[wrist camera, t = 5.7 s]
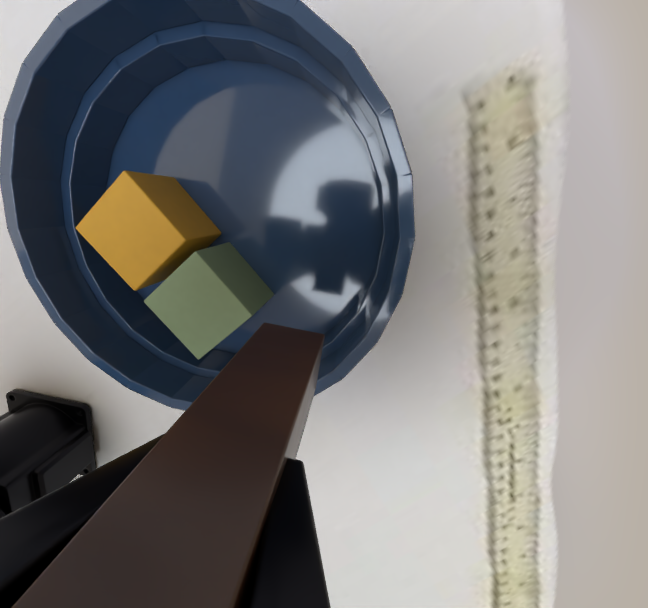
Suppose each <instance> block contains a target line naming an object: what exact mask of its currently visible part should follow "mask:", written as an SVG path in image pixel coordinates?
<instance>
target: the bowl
mask: <svg viewBox="0 0 648 608" xmlns="http://www.w3.org/2000/svg"><path fill="white" fill-rule="evenodd" d="M4 117H5V118H4V119H3V131H2V144H1V157H0V184H1V191H2V197H3V204H4V210H5V217H6V223H7V229H8V232H9V235H10V237H11V240H12V243H13V245H14V248H15V250H16V253H17V256H18V258H19V261H20V264H21V266H22V269H23V272H24V274H25V277H26V279H27V280H28V282H29V284H30V286H31V287H32V289H33V290H34V292H35V294H36V295H37V297H38V298H39V300H40V302H41V303H42V305H43V306H44V308H45V310H46V311H47V313H48V314H49V316H50V318H51V319H52V321H53V322H54V323H55V325H56V326H57V327H58V328H59V329H60V330H61V331H62V333H63V334H64V335H65V336H66V337H67V338H68V339H69V340H70V341H71V342H72V343H73V344H74V345H75V346H76V347H77V349H78V350H79V351H80V352H81V353H82V354H83V355H84V356H85V357H86V358H87V359H88V360H89V361H90V362H92V363H93V364H94V365H96V366H97V367H99V368H100V369H101V370H103V371H104V372H105V373H107V374H108V375H110V376H111V377H112V378H114V379H115V380H117V381H118V382H119V383H121V384H122V385H124V386H125V387H126V388H128V389H130V390H132V391H135V392H137V393H139V394H141V395H144V396H146V397H148V398H150V399H152V400H155V401H157V402H159V403H161V404H164V405H166V406H168V407H171V408H175V409H180V410H185V411H186V410H187V409H188V408H189V406H190V405H191V404H192V403H193V402H194V401H195V400H196V399H197V397H198V396H199V395H200V394H201V393H202V392H203V391H204V390H205V388H206V387H207V386H208V385H209V384H210V383H211V382H212V381H213V379H214V378H215V377H216V376H217V375H218V374H219V373H220V371H221V370H222V369H223V368H224V367H225V366H226V365H227V364H228V362H229V361H230V360H231V359H232V358H233V357H234V356H235V355H236V353H237V352H238V351H239V350H240V349H241V348H242V347H243V346H244V344H245V343H246V342H247V341H248V340H249V339H250V338H251V337H252V335H253V334H254V333H255V332H256V331H257V330H258V329H259V327H260V326H261V325H262V324H263V323H270V324H275V325H280V326H286V327H291V328H296V329H301V330H306V331H311V332H316V333H321V334H324V335H325V337H324V343H323V349H322V355H321V361H320V366H319V372H318V378H317V384H316V389H315V393H314V396H315V395H317V394H318V393H320V392H322V391H323V390H325V389H327V388H328V387H330V386H332V385H333V384H335V383H337V382H338V381H340V380H342V378H344V377H345V376H346V375H347V374H348V373H349V372H350V371H351V370H352V369H353V368H354V367H355V366H356V365H357V363H358V362H359V361H360V360H361V359H362V358H363V357H364V356H365V355H366V354H367V353H368V352H369V351H370V350H371V349H372V348H373V347H374V346H375V345H376V343H377V342H378V340H379V339H380V337H381V335H382V333H383V331H384V329H385V327H386V325H387V323H388V322H389V320H390V318H391V316H392V314H393V312H394V310H395V308H396V307H397V305H398V303H399V301H400V299H401V297H402V295H403V290H404V286H405V281H406V277H407V272H408V268H409V263H410V259H411V255H412V250H413V246H414V241H415V222H414V199H413V175H412V174H411V173H412V171H411V168H410V165H409V161H408V158H407V155H406V152H405V149H404V145H403V142H402V139H401V136H400V133H399V129H398V126H397V123H396V120H395V117H394V113H393V110H392V109H391V106H390V104H389V103H388V101H387V99H386V98H385V96H384V95H383V93H382V92H381V90H380V89H379V87H378V85H377V84H376V82H375V81H374V79H373V78H372V76H371V74H370V73H369V71H368V70H367V68H366V67H365V65H364V63H363V62H362V60H361V59H360V57H359V56H358V54H357V52H356V51H355V49H354V48H352V46H351V45H350V44H349V43H348V42H347V41H346V40H345V39H344V38H342V37H341V36H340V35H339V34H338V33H337V32H336V31H335V30H333V29H332V28H331V27H330V26H329V25H328V24H327V23H325V22H324V21H323V20H322V19H321V18H320V17H319V16H318V15H316V14H315V13H314V12H313V11H312V10H311V9H310V8H309V7H307V6H306V5H305V4H304V3H303V2H302V1H301V0H77V1H75V2H74V3H72V4H71V5H69V6H68V7H67V8H65V9H64V10H62V11H61V12H59V13H58V15H57V16H56V17H55V18H54V20H53V21H52V22H51V24H50V25H49V27H48V28H47V29H46V31H45V32H44V33H43V35H42V36H41V38H40V39H39V40H38V42H37V43H36V44H35V46H34V47H33V49H32V50H31V51H30V53H29V54H28V55H27V57H26V58H25V60H24V63H22V65H21V68H20V71H19V74H18V76H17V79H16V82H15V85H14V88H13V91H12V94H11V97H10V99H9V102H8V105H7V108H6V111H5V114H4ZM125 170H126V171H133V172H140V173H147V174H154V175H161V176H168V177H174V178H175V179H176V180H177V181H178V183H179V184H180V185H181V186H182V187H183V188H184V190H185V191H186V192H187V193H188V194H189V195H190V197H191V198H192V199H193V200H194V201H195V202H196V204H197V205H198V206H199V207H200V208H201V209H202V211H203V212H204V213H205V214H206V215H207V216H208V218H209V219H210V220H211V221H212V222H213V223H214V225H215V226H216V227H217V228H218V229H219V230H220V231H221V235H220V236H219V237H218V238H217V239H216V240H215V241H214V242H213V243H211V244H210V245H209V246H208V247H207V248H209V247H213V246H217V245H220V244H224V243H228V242H230V243H231V244H232V245H233V247H234V248H235V249H236V250H237V251H238V252H239V254H240V255H241V256H242V257H243V258H244V259H245V261H246V262H247V263H248V264H249V265H250V266H251V268H252V269H253V270H254V271H255V272H256V273H257V275H258V276H259V277H260V278H261V279H262V280H263V281H264V283H265V284H266V285H267V286H268V287H269V288H270V290H271V291H272V292H273V293H274V296H273V297H272V298H271V299H269V300H268V301H267V302H266V303H265V304H264V305H263V306H262V307H261V308H260V309H259V310H258V311H257V312H256V313H255V314H254V315H253V316H252V317H251V318H249V319H248V320H247V321H246V322H244V323H243V324H242V325H241V326H240V327H238V328H237V329H236V330H235V331H233V332H232V333H231V334H230V335H229V336H227V337H226V338H225V339H224V340H222V341H221V342H220V343H219V344H218V345H216V346H215V347H214V348H213V349H211V350H210V351H209V352H208V353H207V354H205V355H204V356H203V357H202V358H200V359H199V360H198V359H197V358H196V357H195V356H194V355H193V354H192V353H191V352H190V350H189V349H188V348H187V347H186V346H185V345H184V344H183V343H182V342H181V341H180V340H179V339H178V338H177V337H176V336H175V335H174V333H173V332H172V331H171V330H170V329H169V328H168V327H167V326H166V325H165V324H164V323H163V322H162V321H161V320H160V319H159V317H158V316H157V315H156V314H155V313H154V312H153V311H152V310H151V309H150V308H149V307H148V306H147V305H146V304H145V303H144V300H145V299H146V298H147V297H148V296H149V295H150V294H151V293H152V292H153V291H154V290H155V289H156V288H157V287H158V286H160V285H161V284H162V283H163V282H164V281H165V280H163V281H160V282H158V283H155V284H152V285H150V286H147V287H144V288H142V289H139V290H136V291H134V290H133V289H132V288H131V287H130V286H129V285H128V284H127V283H126V282H125V281H124V279H123V278H122V277H121V276H120V275H119V274H118V273H117V272H116V271H115V270H114V269H113V268H112V267H111V266H110V265H109V263H108V262H107V261H106V260H105V259H104V258H103V257H102V256H101V255H100V254H99V253H98V252H97V251H96V250H95V249H94V248H93V246H92V245H91V244H90V243H89V242H88V241H87V240H86V239H85V238H84V237H83V236H82V235H81V234H80V233H79V232H78V230H77V229H76V226H77V225H78V224H79V223H80V221H81V220H82V219H83V218H84V217H85V216H86V214H87V213H88V212H89V211H90V210H91V208H92V207H93V206H94V205H95V204H96V203H97V201H98V200H99V199H100V198H101V197H102V195H103V194H104V193H105V192H106V191H107V190H108V188H109V187H110V186H111V185H112V184H113V183H114V181H115V180H116V179H117V178H118V177H119V175H120V174H121V173H122V172H123V171H125Z"/></svg>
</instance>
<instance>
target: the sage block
mask: <svg viewBox="0 0 648 608" xmlns="http://www.w3.org/2000/svg"><path fill="white" fill-rule="evenodd" d="M273 296H274V293H273V292H272V291H271V290H270V288H269V287H268V286H267V285H266V284H265V283H264V281H263V280H262V279H261V278H260V277H259V276H258V275H257V273H256V272H255V271H254V270H253V269H252V268H251V266H250V265H249V264H248V263H247V262H246V261H245V259H244V258H243V257H242V256H241V255H240V254H239V252H238V251H237V250H236V249H235V248H234V247H233V245H232V244H231V243H230V242H228V243H224V244H220V245H217V246H213V247H209V248H206V249H202V250H198V251H195V252H194V253H193V254H192V255H191V256H190V257H189V258H188V259H187V260H186V261H184V262H183V263H182V264H181V265H180V266H179V267H178V268H177V269H176V270H175V271H174V272H173V273H172V274H171V275H170V276H169V277H168V278H167V279H166V280H165V281H164V282H163V283H162V284H161V285H160V286H158V287H157V288H156V289H155V290H154V291H153V292H152V293H151V294H150V295H149V296H148V297H147V298H146V299H145V300H144V303H145V304H146V305H147V306H148V307H149V308H150V309H151V310H152V311H153V312H154V313H155V314H156V315H157V316H158V317H159V319H160V320H161V321H162V322H163V323H164V324H165V325H166V326H167V327H168V328H169V329H170V330H171V331H172V332H173V333H174V335H175V336H176V337H177V338H178V339H179V340H180V341H181V342H182V343H183V344H184V345H185V346H186V347H187V348H188V349H189V350H190V352H191V353H192V354H193V355H194V356H195V357H196V358H197V359H198V360H199V359H200V358H202V357H203V356H204V355H205V354H207V353H208V352H209V351H210V350H211V349H213V348H214V347H215V346H216V345H218V344H219V343H220V342H221V341H222V340H224V339H225V338H226V337H227V336H229V335H230V334H231V333H232V332H233V331H235V330H236V329H237V328H238V327H240V326H241V325H242V324H243V323H244V322H246V321H247V320H248V319H249V318H251V317H252V316H253V315H254V314H255V313H256V312H257V311H258V310H259V309H260V308H261V307H262V306H263V305H264V304H265V303H266V302H267V301H268V300H269V299H271V298H272V297H273Z"/></svg>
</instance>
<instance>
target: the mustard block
mask: <svg viewBox="0 0 648 608" xmlns="http://www.w3.org/2000/svg"><path fill="white" fill-rule="evenodd" d="M76 229H77V230H78V232H79V233H80V234H81V235H82V236H83V237H84V238H85V239H86V240H87V241H88V242H89V243H90V244H91V245H92V246H93V248H94V249H95V250H96V251H97V252H98V253H99V254H100V255H101V256H102V257H103V258H104V259H105V260H106V261H107V262H108V263H109V265H110V266H111V267H112V268H113V269H114V270H115V271H116V272H117V273H118V274H119V275H120V276H121V277H122V278H123V279H124V281H125V282H126V283H127V284H128V285H129V286H130V287H131V288H132V289H133V290H134V291H136V290H139V289H142V288H144V287H147V286H150V285H152V284H155V283H158V282H160V281H163V280H166V279H167V278H168V277H169V276H170V275H171V274H172V273H173V272H174V271H175V270H176V269H177V268H178V267H179V266H180V265H181V264H182V263H183V262H184V261H186V260H187V259H188V258H189V257H190V256H191V255H192V254H193V253H194V252H195V251H198V250H202V249H206V248H207V247H208V246H209V245H210V244H211V243H213V242H214V241H215V240H216V239H217V238H218V237H219V236H220V235H221V231H220V230H219V229H218V228H217V227H216V226H215V225H214V223H213V222H212V221H211V220H210V219H209V218H208V216H207V215H206V214H205V213H204V212H203V211H202V209H201V208H200V207H199V206H198V205H197V204H196V202H195V201H194V200H193V199H192V198H191V197H190V195H189V194H188V193H187V192H186V191H185V190H184V188H183V187H182V186H181V185H180V184H179V183H178V181H177V180H176V179H175V178H174V177H168V176H161V175H154V174H147V173H140V172H133V171H126V170H125V171H123V172H122V173H121V174H120V175H119V177H118V178H117V179H116V180H115V181H114V183H113V184H112V185H111V186H110V187H109V188H108V190H107V191H106V192H105V193H104V194H103V195H102V197H101V198H100V199H99V200H98V201H97V203H96V204H95V205H94V206H93V207H92V208H91V210H90V211H89V212H88V213H87V214H86V216H85V217H84V218H83V219H82V220H81V221H80V223H79V224H78V225H77V226H76Z"/></svg>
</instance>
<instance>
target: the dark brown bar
mask: <svg viewBox="0 0 648 608" xmlns="http://www.w3.org/2000/svg"><path fill="white" fill-rule="evenodd" d="M324 337H325V335H324V334H321V333H316V332H311V331H306V330H301V329H296V328H291V327H286V326H280V325H275V324H270V323H263V324H262V325H261V326H260V327H259V329H258V330H257V331H256V332H255V333H254V334H253V335H252V337H251V338H250V339H249V340H248V341H247V342H246V343H245V344H244V346H243V347H242V348H241V349H240V350H239V351H238V352H237V353H236V355H235V356H234V357H233V358H232V359H231V360H230V361H229V362H228V364H227V365H226V366H225V367H224V368H223V369H222V370H221V371H220V373H219V374H218V375H217V376H216V377H215V378H214V379H213V381H212V382H211V383H210V384H209V385H208V386H207V387H206V388H205V390H204V391H203V392H202V393H201V394H200V395H199V396H198V397H197V399H196V400H195V401H194V402H193V403H192V404H191V405H190V406H189V408H188V409H187V410H186V411H185V412H184V413H183V414H182V415H181V417H180V418H179V419H178V420H177V421H176V422H175V423H174V425H173V426H172V427H171V428H170V429H169V430H168V431H167V432H166V434H165V435H164V436H163V437H162V438H161V439H160V440H159V441H158V443H157V444H156V445H155V446H154V447H153V448H152V449H151V450H150V452H149V453H148V454H147V455H146V456H145V457H144V458H143V459H142V461H141V462H140V463H139V464H138V465H137V466H136V467H135V469H134V470H133V471H132V472H131V473H130V474H129V475H128V476H127V478H126V479H125V480H124V481H123V482H122V483H121V484H120V485H119V487H118V488H117V489H116V490H115V491H114V492H113V493H112V494H111V496H110V497H109V498H108V499H107V500H106V501H105V502H104V503H103V505H102V506H101V507H100V508H99V509H98V510H97V511H96V513H95V514H94V515H93V516H92V517H91V518H90V519H89V520H88V522H87V523H86V524H85V525H84V526H83V527H82V528H81V529H80V531H79V532H78V533H77V534H76V535H75V536H74V537H73V538H72V540H71V541H70V542H69V543H68V544H67V545H66V546H65V547H64V549H63V550H62V551H61V552H60V553H59V554H58V555H57V557H56V558H55V559H54V560H53V561H52V562H51V563H50V564H49V566H48V567H47V568H46V569H45V570H44V571H43V572H42V573H41V575H40V576H39V577H38V578H37V579H36V580H35V581H34V582H33V584H32V585H31V586H30V587H29V588H28V589H27V590H26V591H25V593H24V594H23V595H22V596H21V597H20V598H19V599H18V601H17V602H16V603H15V604H14V605H13V606H12V607H11V608H249V606H250V600H251V595H252V589H253V584H254V579H255V573H256V568H257V562H258V557H259V551H260V546H261V540H262V535H263V529H264V525H265V522H266V519H267V516H268V513H269V510H270V507H271V504H272V501H273V499H274V496H275V493H276V490H277V487H278V485H279V482H280V479H281V476H282V473H283V471H284V468H285V465H286V462H287V459H288V458H292V459H296V455H297V452H298V448H299V445H300V441H301V438H302V434H303V431H304V427H305V424H306V420H307V417H308V413H309V410H310V406H311V403H312V400H313V396H314V393H315V389H316V384H317V378H318V372H319V366H320V361H321V355H322V349H323V343H324Z"/></svg>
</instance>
